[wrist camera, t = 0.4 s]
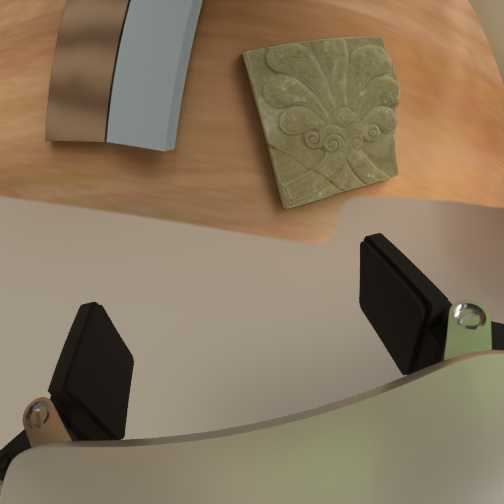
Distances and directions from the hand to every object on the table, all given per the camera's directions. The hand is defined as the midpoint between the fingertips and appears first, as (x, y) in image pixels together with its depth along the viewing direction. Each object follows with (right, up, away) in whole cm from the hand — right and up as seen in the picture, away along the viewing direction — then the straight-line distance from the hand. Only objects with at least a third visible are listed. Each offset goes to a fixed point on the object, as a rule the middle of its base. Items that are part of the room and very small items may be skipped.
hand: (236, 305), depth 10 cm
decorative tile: (+10, +19, +25) cm, 33 cm away
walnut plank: (-18, +27, +15) cm, 36 cm away
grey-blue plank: (-9, +25, +15) cm, 31 cm away
